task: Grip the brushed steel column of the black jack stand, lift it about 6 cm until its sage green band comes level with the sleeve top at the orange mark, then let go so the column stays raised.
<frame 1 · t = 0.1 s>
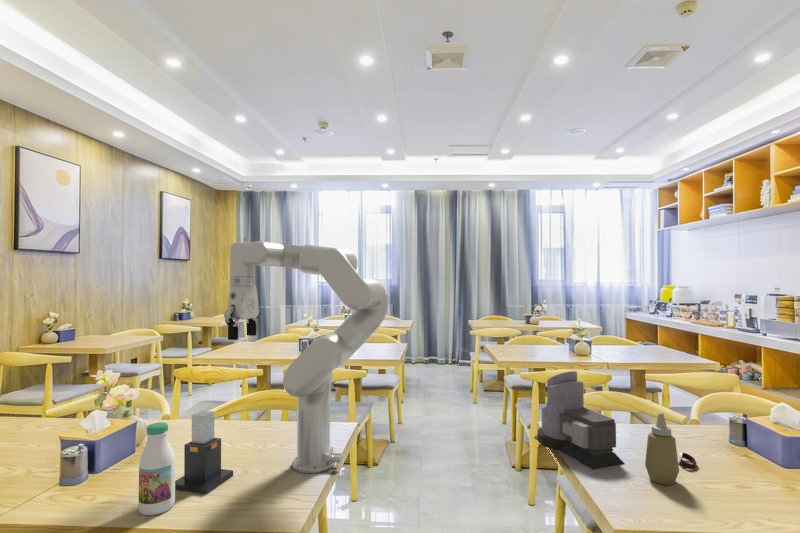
hand: (242, 337, 140), 37 cm above the table, tool pointing down, fingers open, 9 cm apart
milk bottle: (157, 508, 109), on the table
stand column: (203, 444, 123), point 10 cm above the table, slide at 0.0 cm
stand base: (203, 482, 122), on the table
watch: (686, 466, 132), on the table
squeeze bottle: (662, 481, 122), on the table
grey blocky piece: (574, 449, 145), on the table
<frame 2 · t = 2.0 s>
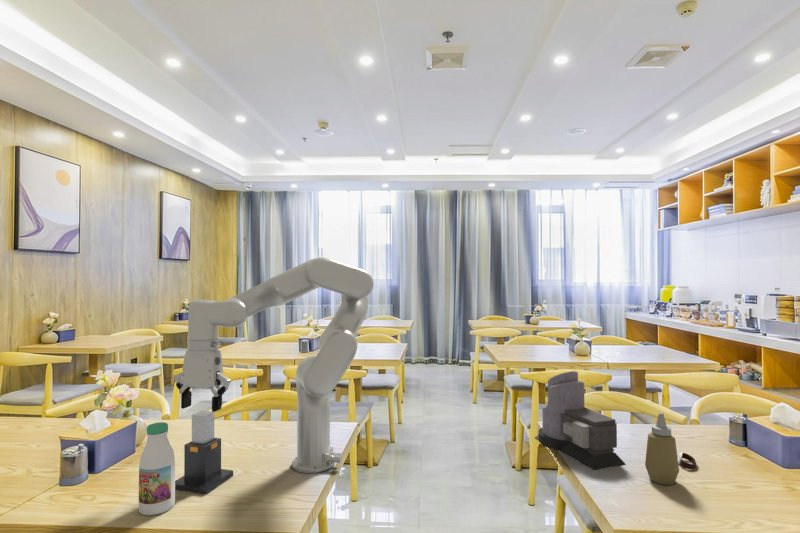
hand: (201, 408, 122), 20 cm above the table, tool pointing down, fingers open, 9 cm apart
nothing on the table moved.
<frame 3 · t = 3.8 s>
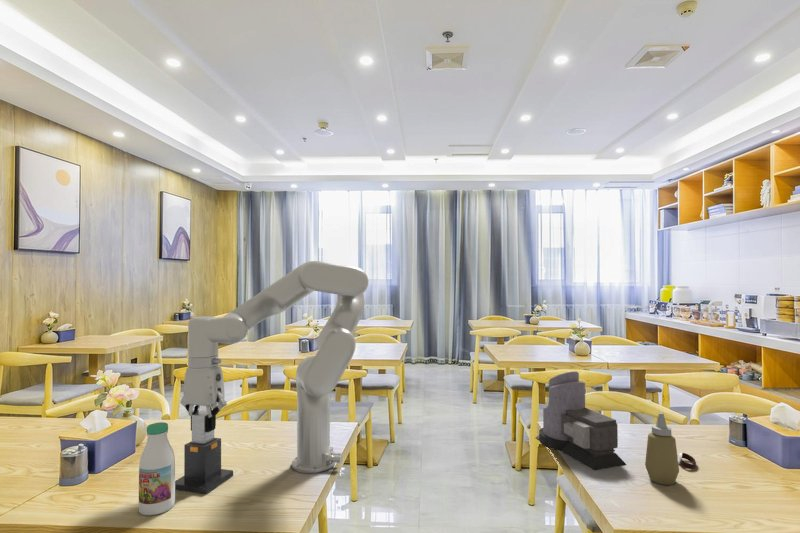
hand: (203, 429, 123), 14 cm above the table, tool pointing down, fingers closed on stand column, 4 cm apart
stand column: (203, 444, 123), point 10 cm above the table, slide at 0.0 cm, touching gripper
everything else where it was.
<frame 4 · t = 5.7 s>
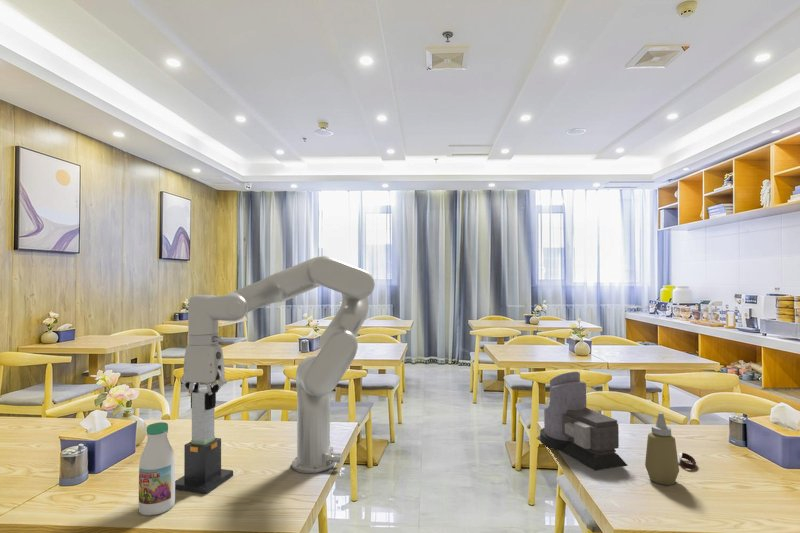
hand: (203, 407, 123), 20 cm above the table, tool pointing down, fingers closed on stand column, 4 cm apart
stand column: (203, 422, 123), point 16 cm above the table, slide at 5.9 cm, touching gripper
everything else where it was.
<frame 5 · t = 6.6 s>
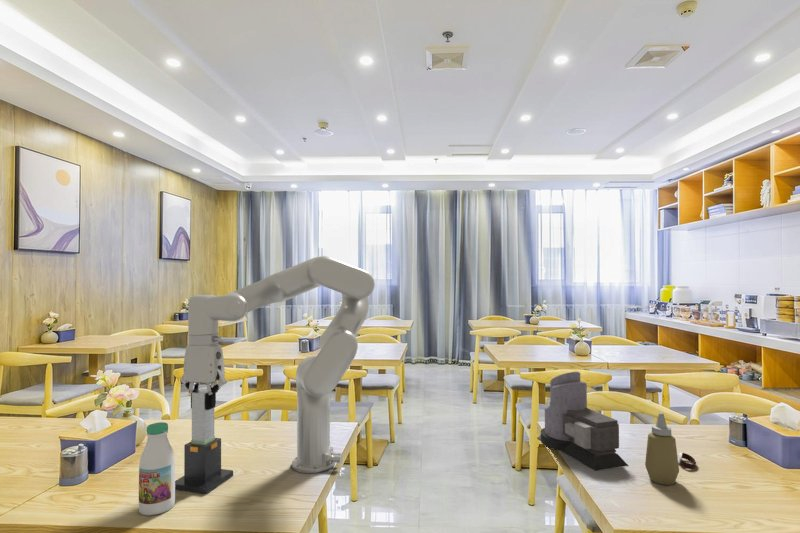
hand: (203, 407, 123), 20 cm above the table, tool pointing down, fingers closed on stand column, 4 cm apart
stand column: (203, 422, 123), point 16 cm above the table, slide at 6.0 cm, touching gripper
everything else where it was.
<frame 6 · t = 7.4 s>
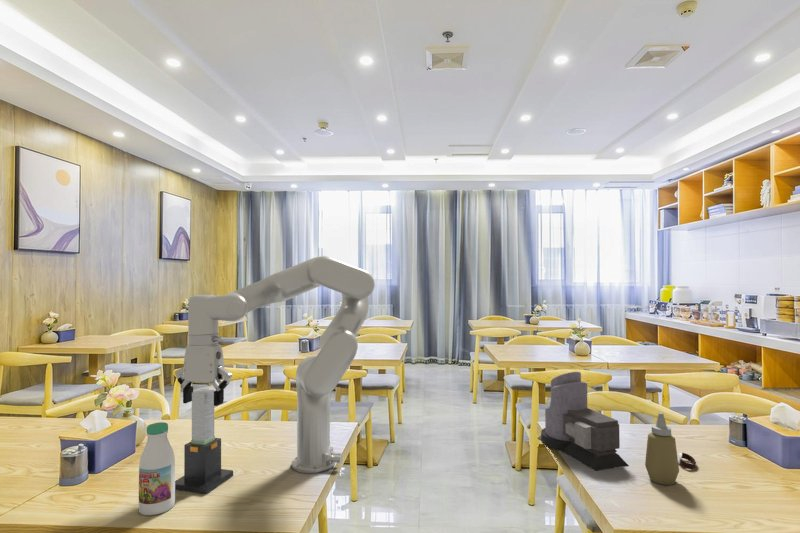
hand: (203, 403, 123), 21 cm above the table, tool pointing down, fingers open, 9 cm apart
stand column: (203, 422, 123), point 16 cm above the table, slide at 6.0 cm
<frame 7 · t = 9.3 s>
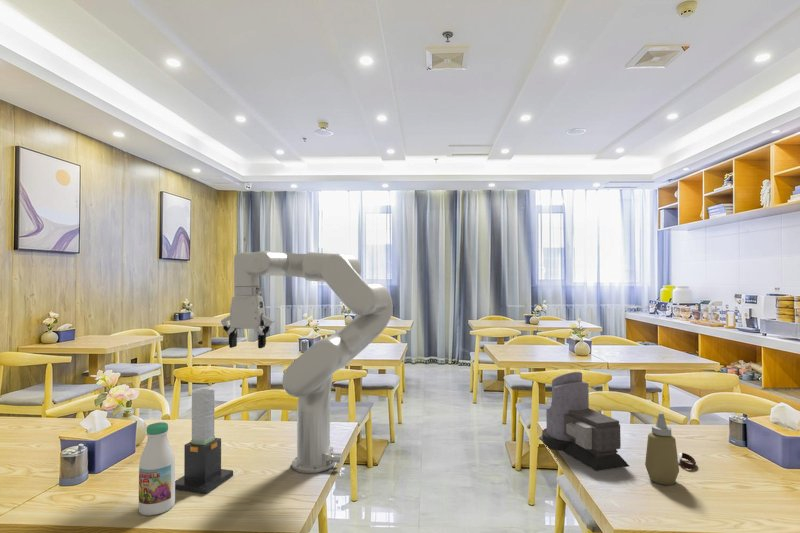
hand: (247, 347, 140), 34 cm above the table, tool pointing down, fingers open, 9 cm apart
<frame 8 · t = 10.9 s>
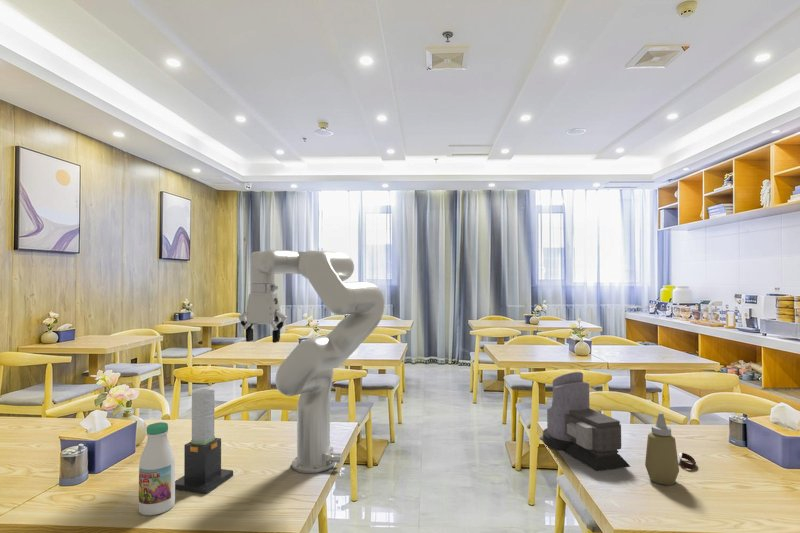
hand: (262, 341, 147), 34 cm above the table, tool pointing down, fingers open, 9 cm apart
at the end: stand column slide at 6.0 cm; the gripper is holding nothing; milk bottle moved 0.2 cm from its start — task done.
